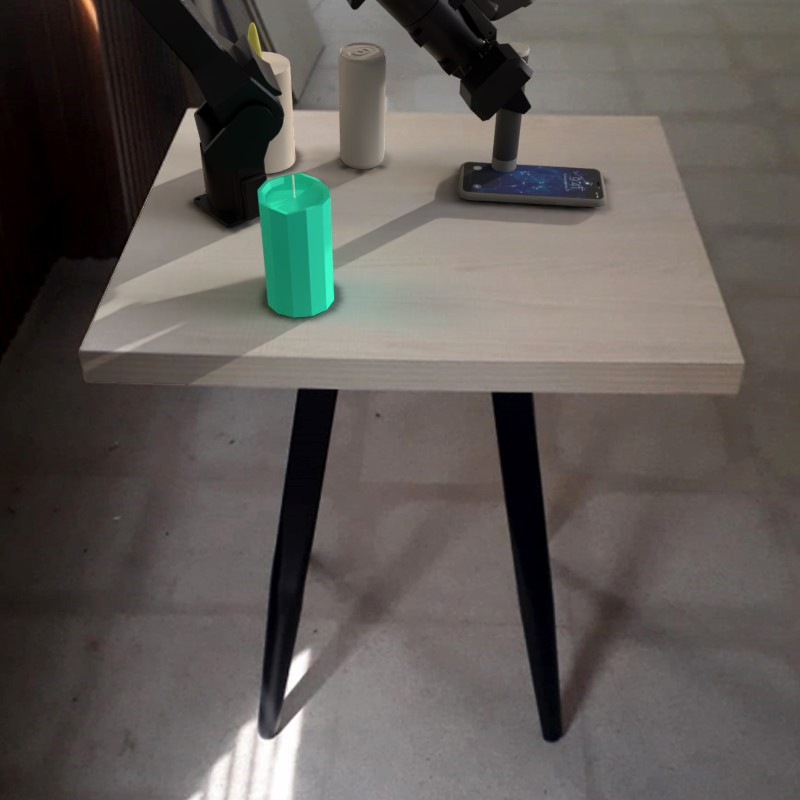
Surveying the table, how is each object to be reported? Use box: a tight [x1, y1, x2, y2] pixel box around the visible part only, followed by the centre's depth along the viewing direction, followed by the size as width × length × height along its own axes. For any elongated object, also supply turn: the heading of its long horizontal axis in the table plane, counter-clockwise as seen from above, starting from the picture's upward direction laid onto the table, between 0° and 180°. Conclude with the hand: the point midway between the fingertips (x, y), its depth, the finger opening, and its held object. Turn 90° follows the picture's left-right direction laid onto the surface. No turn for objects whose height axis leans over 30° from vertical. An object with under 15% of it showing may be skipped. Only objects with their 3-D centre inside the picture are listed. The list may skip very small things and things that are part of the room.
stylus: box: [491, 41, 530, 172], centre depth 97 cm, size 3×3×13 cm
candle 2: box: [258, 172, 335, 318], centre depth 80 cm, size 6×6×12 cm
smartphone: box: [458, 161, 608, 208], centre depth 99 cm, size 7×1×15 cm
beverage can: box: [337, 41, 387, 170], centre depth 99 cm, size 5×5×12 cm
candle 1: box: [247, 22, 296, 175], centre depth 98 cm, size 6×6×15 cm
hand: (522, 104), depth 97 cm, fingers closed on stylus, 2 cm apart
